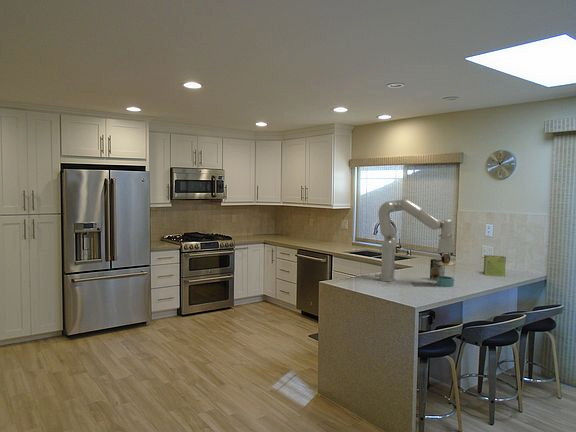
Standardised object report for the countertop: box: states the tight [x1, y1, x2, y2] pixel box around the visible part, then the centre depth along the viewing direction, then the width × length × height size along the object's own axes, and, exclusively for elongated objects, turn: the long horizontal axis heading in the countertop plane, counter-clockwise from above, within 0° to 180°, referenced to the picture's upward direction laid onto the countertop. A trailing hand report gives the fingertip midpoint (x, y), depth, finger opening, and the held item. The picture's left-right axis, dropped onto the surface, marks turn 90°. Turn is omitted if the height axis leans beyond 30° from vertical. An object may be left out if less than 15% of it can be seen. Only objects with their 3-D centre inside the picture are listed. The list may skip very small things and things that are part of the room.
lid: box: [436, 253, 456, 267], centre depth 313 cm, size 13×13×7 cm
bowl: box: [436, 275, 455, 288], centre depth 314 cm, size 11×11×6 cm
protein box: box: [483, 254, 507, 277], centre depth 360 cm, size 10×15×16 cm
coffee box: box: [429, 258, 446, 282], centre depth 332 cm, size 9×6×16 cm
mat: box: [409, 281, 436, 288], centre depth 315 cm, size 15×15×1 cm
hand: (445, 261), depth 313 cm, fingers closed on lid, 3 cm apart
